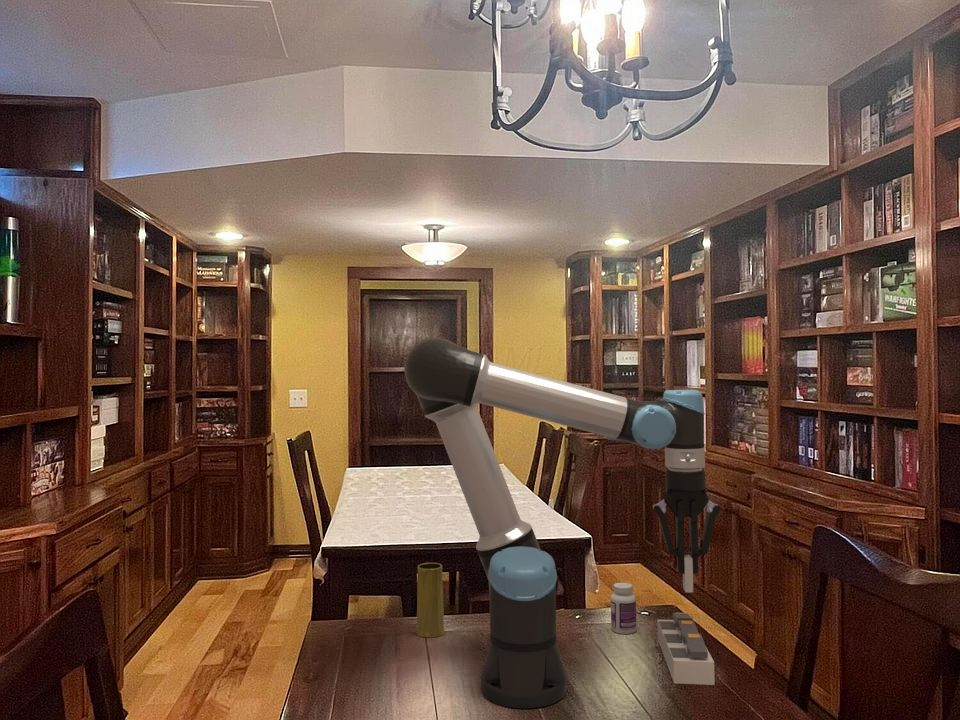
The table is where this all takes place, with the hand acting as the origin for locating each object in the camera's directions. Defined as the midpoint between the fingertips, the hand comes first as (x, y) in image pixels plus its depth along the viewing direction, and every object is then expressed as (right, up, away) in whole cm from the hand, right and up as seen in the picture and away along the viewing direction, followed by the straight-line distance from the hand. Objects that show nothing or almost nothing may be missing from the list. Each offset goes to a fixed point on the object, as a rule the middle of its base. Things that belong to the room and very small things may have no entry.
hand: (688, 590), depth 140 cm
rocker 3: (-1, -7, -9) cm, 12 cm away
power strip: (-1, -13, -2) cm, 13 cm away
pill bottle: (-10, -13, +14) cm, 21 cm away
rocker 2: (-1, -7, -2) cm, 8 cm away
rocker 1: (0, -7, +5) cm, 9 cm away
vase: (-51, -14, +13) cm, 54 cm away
